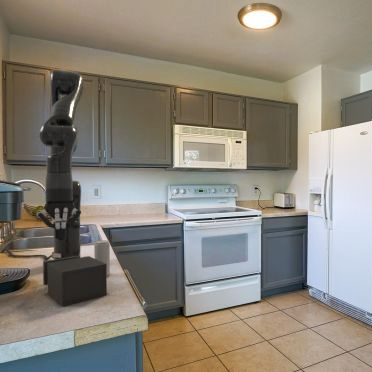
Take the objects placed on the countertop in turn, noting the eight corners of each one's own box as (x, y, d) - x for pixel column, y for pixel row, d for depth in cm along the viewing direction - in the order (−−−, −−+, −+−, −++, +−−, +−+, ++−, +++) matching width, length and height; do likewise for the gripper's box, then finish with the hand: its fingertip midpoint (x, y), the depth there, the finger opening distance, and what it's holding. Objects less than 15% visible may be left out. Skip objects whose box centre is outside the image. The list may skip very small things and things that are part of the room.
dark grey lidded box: (47, 293, 92) (47, 262, 92) (89, 284, 101) (89, 256, 101) (62, 306, 83) (61, 272, 83) (106, 294, 91) (106, 263, 91)
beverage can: (112, 273, 112) (111, 240, 112) (106, 277, 107) (106, 243, 107) (98, 273, 112) (98, 240, 112) (92, 278, 107) (91, 243, 107)
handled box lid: (39, 281, 101) (38, 258, 101) (74, 274, 109) (74, 253, 108) (55, 294, 89) (55, 269, 89) (93, 285, 97) (93, 262, 97)
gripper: (77, 186, 109) (77, 236, 110) (32, 186, 100) (32, 241, 100) (85, 187, 104) (85, 239, 104) (38, 187, 94) (38, 244, 95)
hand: (59, 240), depth 102 cm, fingers closed
